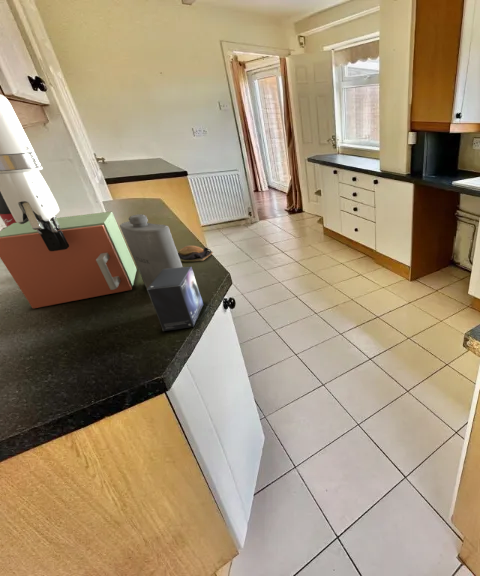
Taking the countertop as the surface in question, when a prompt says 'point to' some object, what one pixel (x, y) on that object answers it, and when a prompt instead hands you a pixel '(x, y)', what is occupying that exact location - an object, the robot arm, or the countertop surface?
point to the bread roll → (193, 253)
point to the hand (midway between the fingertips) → (59, 249)
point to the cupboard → (87, 221)
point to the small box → (176, 298)
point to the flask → (150, 247)
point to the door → (64, 266)
